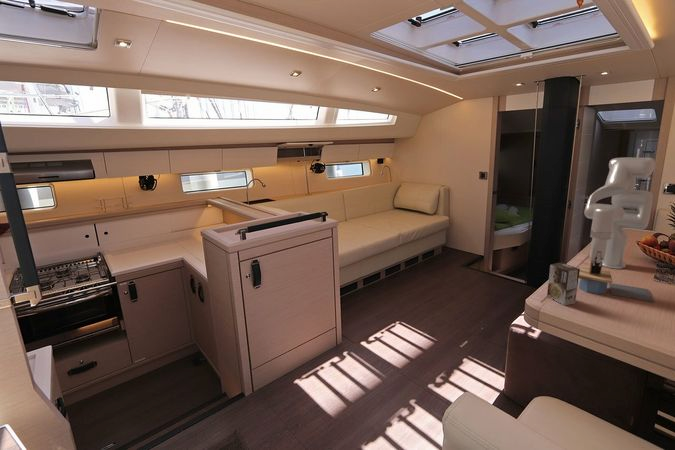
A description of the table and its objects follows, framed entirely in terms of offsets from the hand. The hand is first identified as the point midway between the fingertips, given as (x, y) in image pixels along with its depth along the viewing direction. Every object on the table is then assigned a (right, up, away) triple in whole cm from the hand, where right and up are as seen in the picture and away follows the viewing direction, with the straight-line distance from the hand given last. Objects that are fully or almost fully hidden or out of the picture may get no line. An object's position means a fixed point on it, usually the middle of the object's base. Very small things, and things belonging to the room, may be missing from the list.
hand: (595, 271), depth 152 cm
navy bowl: (0, -9, +2) cm, 9 cm away
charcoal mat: (+14, -9, -3) cm, 17 cm away
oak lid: (0, -2, +1) cm, 2 cm away
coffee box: (-21, -12, -7) cm, 25 cm away
